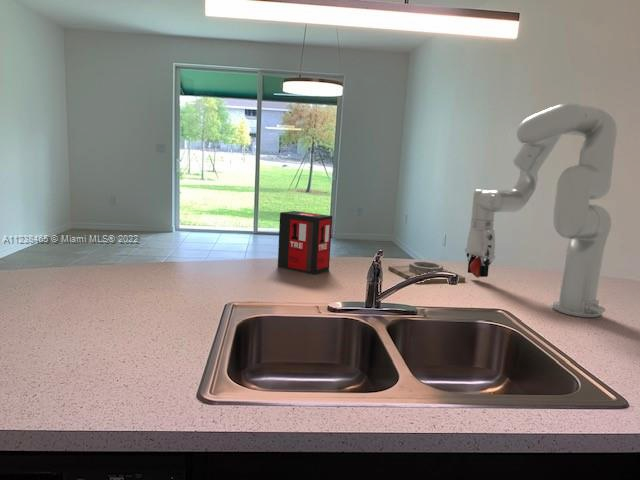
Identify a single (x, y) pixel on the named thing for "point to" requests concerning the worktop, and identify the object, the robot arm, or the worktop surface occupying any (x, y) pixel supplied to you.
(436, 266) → the cradle
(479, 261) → the onion
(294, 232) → the cleaning product box
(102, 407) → the worktop surface
